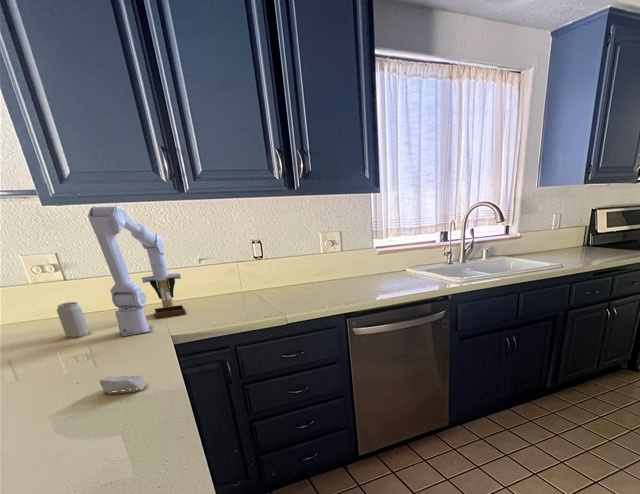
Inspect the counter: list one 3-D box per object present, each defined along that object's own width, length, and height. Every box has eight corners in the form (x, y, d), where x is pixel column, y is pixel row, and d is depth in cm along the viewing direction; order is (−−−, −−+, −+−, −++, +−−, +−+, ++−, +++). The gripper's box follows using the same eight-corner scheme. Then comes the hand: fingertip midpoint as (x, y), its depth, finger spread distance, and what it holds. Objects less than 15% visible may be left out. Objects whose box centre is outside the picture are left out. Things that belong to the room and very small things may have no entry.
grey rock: (146, 397, 119) (149, 377, 118) (135, 402, 113) (139, 380, 112) (108, 388, 118) (112, 368, 117) (95, 392, 111) (99, 371, 111)
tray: (157, 318, 178) (155, 313, 177) (155, 313, 186) (154, 308, 185) (185, 314, 183) (184, 309, 182) (183, 309, 190) (182, 304, 190)
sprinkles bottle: (175, 306, 182) (167, 275, 177) (163, 308, 180) (155, 276, 174) (173, 304, 186) (165, 273, 180) (161, 306, 184) (154, 274, 178)
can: (87, 330, 165) (76, 300, 160) (92, 334, 160) (81, 303, 155) (64, 335, 161) (53, 304, 155) (68, 339, 156) (57, 307, 151)
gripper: (176, 261, 182) (183, 293, 188) (138, 265, 175) (147, 298, 181) (178, 264, 176) (185, 296, 182) (139, 268, 170) (147, 301, 176)
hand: (166, 297), depth 181 cm, fingers closed on sprinkles bottle, 4 cm apart
